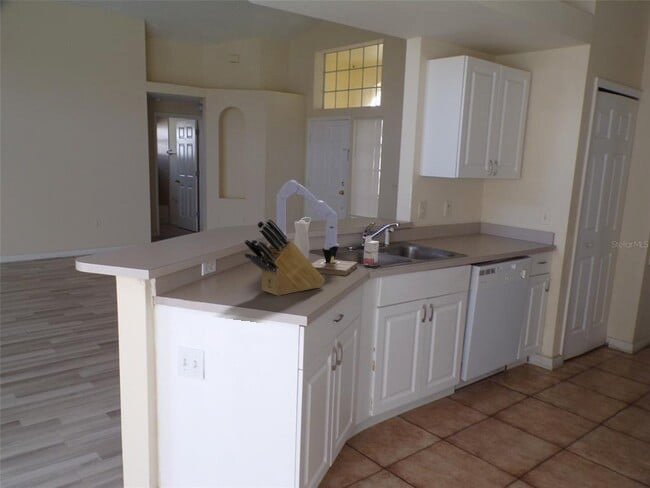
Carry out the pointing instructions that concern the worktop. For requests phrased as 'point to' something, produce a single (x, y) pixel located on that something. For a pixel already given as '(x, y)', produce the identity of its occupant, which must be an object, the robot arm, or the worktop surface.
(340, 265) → the plate
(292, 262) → the knife block
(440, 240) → the worktop surface
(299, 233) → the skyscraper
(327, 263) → the brass peg
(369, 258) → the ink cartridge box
